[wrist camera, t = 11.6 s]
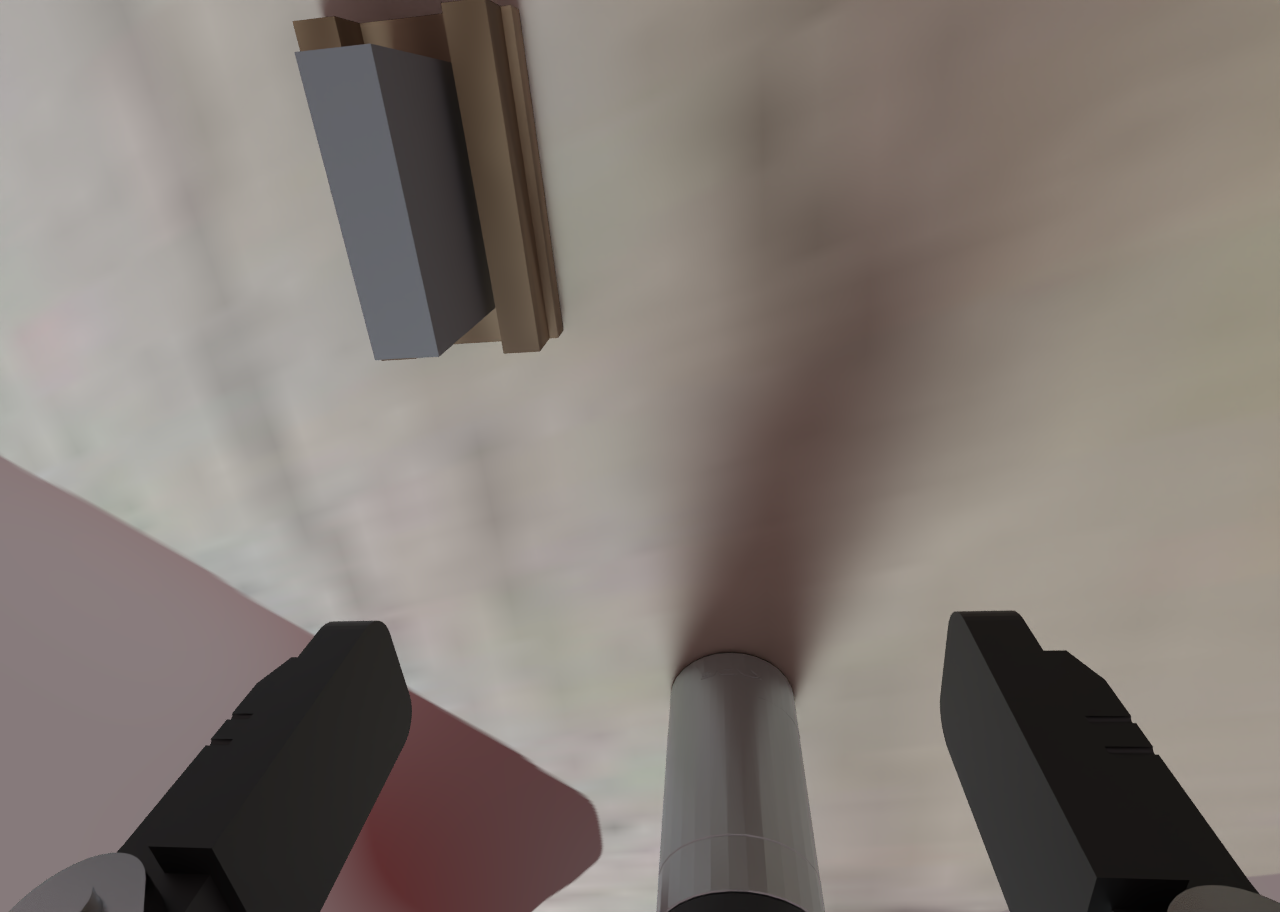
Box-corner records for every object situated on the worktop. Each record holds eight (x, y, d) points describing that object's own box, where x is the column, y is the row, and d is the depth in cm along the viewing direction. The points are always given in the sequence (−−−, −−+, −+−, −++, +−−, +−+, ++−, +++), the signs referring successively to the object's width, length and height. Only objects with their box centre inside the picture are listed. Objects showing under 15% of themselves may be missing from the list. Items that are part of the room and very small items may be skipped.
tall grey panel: (452, 62, 33) (370, 43, 25) (495, 307, 38) (439, 356, 30) (390, 69, 34) (289, 52, 25) (441, 310, 39) (370, 360, 31)
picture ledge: (518, 9, 33) (495, -4, 30) (563, 330, 40) (548, 350, 37) (326, 32, 34) (282, 22, 31) (401, 340, 41) (372, 361, 38)
